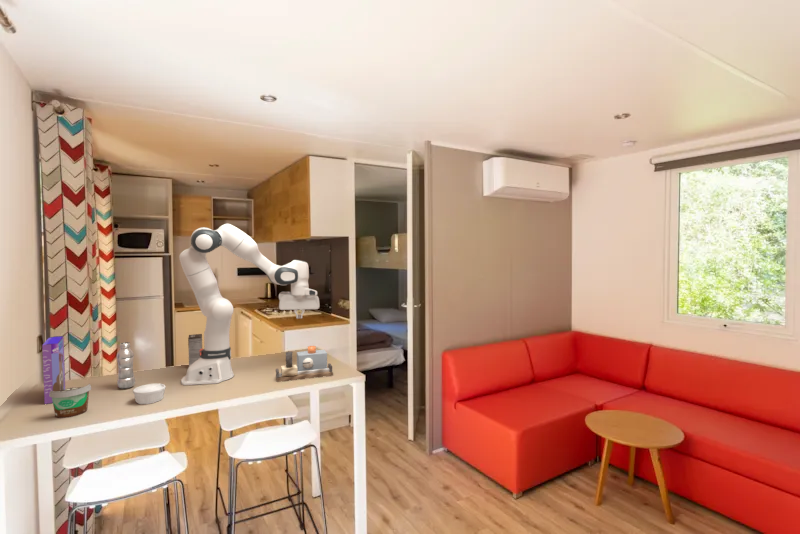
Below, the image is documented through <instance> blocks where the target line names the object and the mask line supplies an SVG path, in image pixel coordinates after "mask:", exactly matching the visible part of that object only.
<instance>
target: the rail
mask: <svg viewBox="0 0 800 534" xmlns="http://www.w3.org/2000/svg"><path fill="white" fill-rule="evenodd" d="M331 375H333V376H334V373H333V365H332V364H331V363H327V368H325V369H316V370H306V371H298V373H297V375H294V376H284V377H282V373H280V370H279V368H275V378H276V382H277V383H280V382H281V381H282V382H288V381H289V380H291V381H298V380H297V379H300V380H306V379H305V378H309V379H315V378H314V377H318V378H324V377H323V376H326V377H332V376H331ZM282 382H281V383H282Z"/></svg>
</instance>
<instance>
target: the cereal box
mask: <svg viewBox="0 0 800 534" xmlns="http://www.w3.org/2000/svg"><path fill="white" fill-rule="evenodd" d="M64 339H65V337H64V335H55V336H49V337H47V339H46V340H45V341H44V342H43V344H42V370H43V372H42V373H43V396H44V399H43V400H44V405H45V404H46V405H51V404H52V405H53V401H52V397H50V396H49V394H50V391H51V390H52V391H60V390H65V389H66V372H65V371H66V369H65V368H66V367H65V346H64V345H65V340H64Z"/></svg>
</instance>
